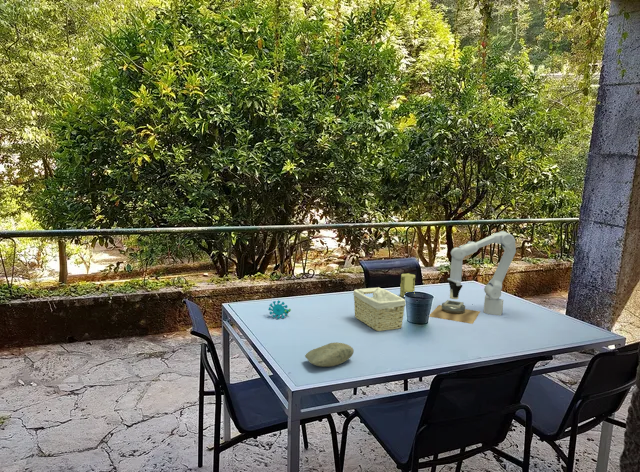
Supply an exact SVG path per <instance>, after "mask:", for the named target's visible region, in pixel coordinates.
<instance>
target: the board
mask: <svg viewBox="0 0 640 472" xmlns="http://www.w3.org/2000/svg"><path fill="white" fill-rule="evenodd" d="M441 309H442V304H439V305H437V306H436V308H435V309H434V310H432V312H430V314H429V315H430V316H429V315H428V316H429V318H436V319H440V320H441V319H442V320H448V321H453V322H459V323H464V324H471V325H473V324H474V323H475V321H476V320H477V318H478V317H479V315H480V313H481V312H482V311H480V310H475V309H474V310H473V309H469V308H467V309H466V308H465V313H463V314H450V313H446V312H443V311H442V310H441Z"/></svg>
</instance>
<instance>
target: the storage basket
mask: <svg viewBox="0 0 640 472" xmlns="http://www.w3.org/2000/svg"><path fill="white" fill-rule="evenodd" d="M368 294H369V295H370V294H372V296H370V297H369V296H367V295H368ZM352 295H353V301H354V306H353V307H354V317H355V319H357V320H358V321H361V322H362V323H364V324H365V325H366V326H368V327H370V328H372V329H373V330H375V331H377V332H382V331H390V330H399V329H401V328H402V327H403V326H402V325H403V320H404V315H405V314H404V312H405V306H406V304H407V303H406V299H404V297H400V295H397V294H395V293H393V292H391V291H389V290H387V289H384V288H381V287H379V286H378V287H368V288H366V287H365V288H359V289H357V288H355V289H354V290H353V294H352Z"/></svg>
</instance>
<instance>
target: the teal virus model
mask: <svg viewBox="0 0 640 472" xmlns="http://www.w3.org/2000/svg"><path fill="white" fill-rule="evenodd" d="M268 311H269V315H272V318H274V319H277V320H280V319H285V317H286V316H288V315H289V312H291V311H292V309H291V308H289V309H288V305H287V304H285V302H284V301H282V302H281V300H277V303H276V300H273V301H272V303H270V304H269V307H268ZM276 316H277V317H276ZM280 316H281V317H280Z"/></svg>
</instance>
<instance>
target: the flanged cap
mask: <svg viewBox="0 0 640 472" xmlns="http://www.w3.org/2000/svg"><path fill="white" fill-rule="evenodd" d="M449 299H451V300H458V299H459V295H458V297H457V298H454V297H453V290H452V289H450V288H449Z"/></svg>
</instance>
